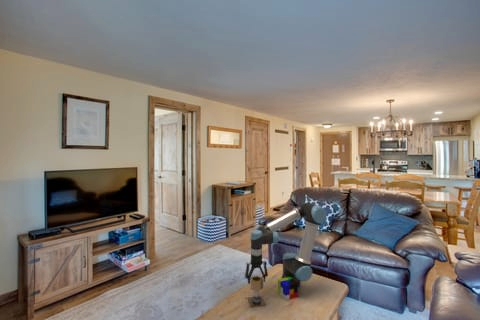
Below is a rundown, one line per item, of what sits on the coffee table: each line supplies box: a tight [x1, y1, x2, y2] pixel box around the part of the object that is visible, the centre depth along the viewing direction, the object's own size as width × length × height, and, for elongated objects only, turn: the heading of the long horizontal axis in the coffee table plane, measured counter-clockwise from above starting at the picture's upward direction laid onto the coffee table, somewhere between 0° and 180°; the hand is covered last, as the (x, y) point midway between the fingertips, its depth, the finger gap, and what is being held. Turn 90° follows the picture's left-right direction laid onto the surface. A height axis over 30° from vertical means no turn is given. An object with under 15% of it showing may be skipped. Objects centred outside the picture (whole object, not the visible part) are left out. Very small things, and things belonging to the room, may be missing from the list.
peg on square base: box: [247, 290, 267, 308], centre depth 168 cm, size 10×10×12 cm
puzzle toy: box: [277, 277, 299, 301], centre depth 177 cm, size 10×10×10 cm
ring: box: [250, 275, 264, 292], centre depth 168 cm, size 8×8×6 cm
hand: (256, 287), depth 168 cm, fingers closed on ring, 8 cm apart
